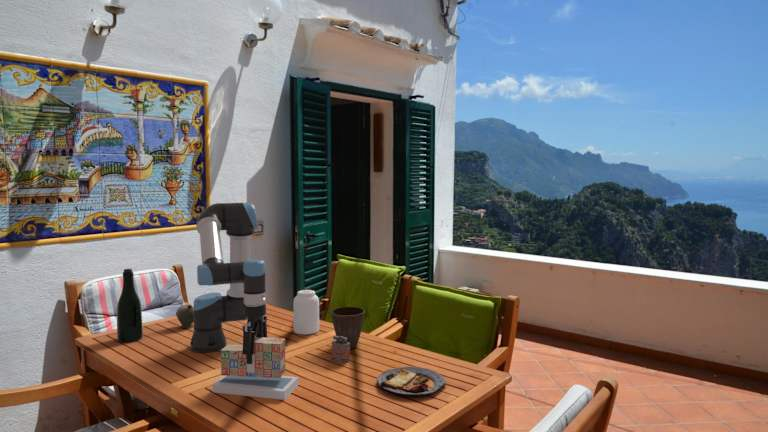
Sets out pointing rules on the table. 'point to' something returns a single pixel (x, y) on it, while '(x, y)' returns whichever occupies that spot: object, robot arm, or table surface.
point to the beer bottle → (129, 311)
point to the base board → (256, 386)
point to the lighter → (340, 349)
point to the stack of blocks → (266, 359)
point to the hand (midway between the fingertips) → (255, 368)
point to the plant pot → (348, 323)
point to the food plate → (410, 380)
